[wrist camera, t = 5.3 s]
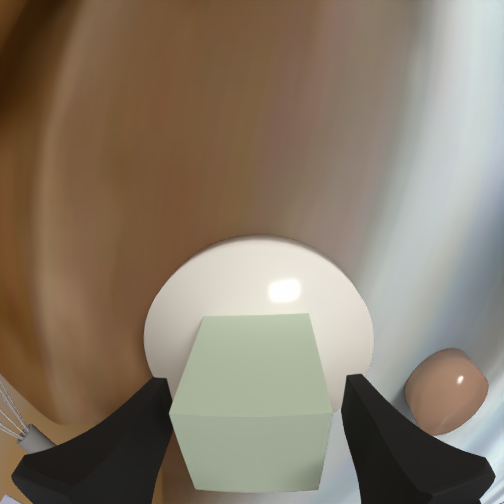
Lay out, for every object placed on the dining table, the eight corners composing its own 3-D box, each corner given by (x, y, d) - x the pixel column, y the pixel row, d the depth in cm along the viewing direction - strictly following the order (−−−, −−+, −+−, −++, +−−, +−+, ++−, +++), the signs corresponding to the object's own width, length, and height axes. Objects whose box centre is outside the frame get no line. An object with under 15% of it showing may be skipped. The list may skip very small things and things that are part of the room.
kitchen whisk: (140, 515, 25) (128, 555, 19) (-72, 282, 18) (-113, 307, 11) (177, 512, 23) (166, 558, 17) (-60, 249, 16) (-110, 273, 10)
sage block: (308, 312, 13) (332, 412, 8) (305, 390, 15) (318, 489, 9) (204, 315, 14) (169, 413, 8) (215, 392, 15) (195, 489, 9)
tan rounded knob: (477, 345, 16) (500, 370, 13) (450, 402, 18) (467, 429, 15) (418, 348, 16) (438, 378, 13) (393, 409, 18) (406, 440, 15)
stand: (382, 245, 14) (398, 258, 12) (338, 413, 18) (343, 436, 16) (152, 225, 15) (137, 235, 13) (163, 400, 18) (155, 421, 16)
